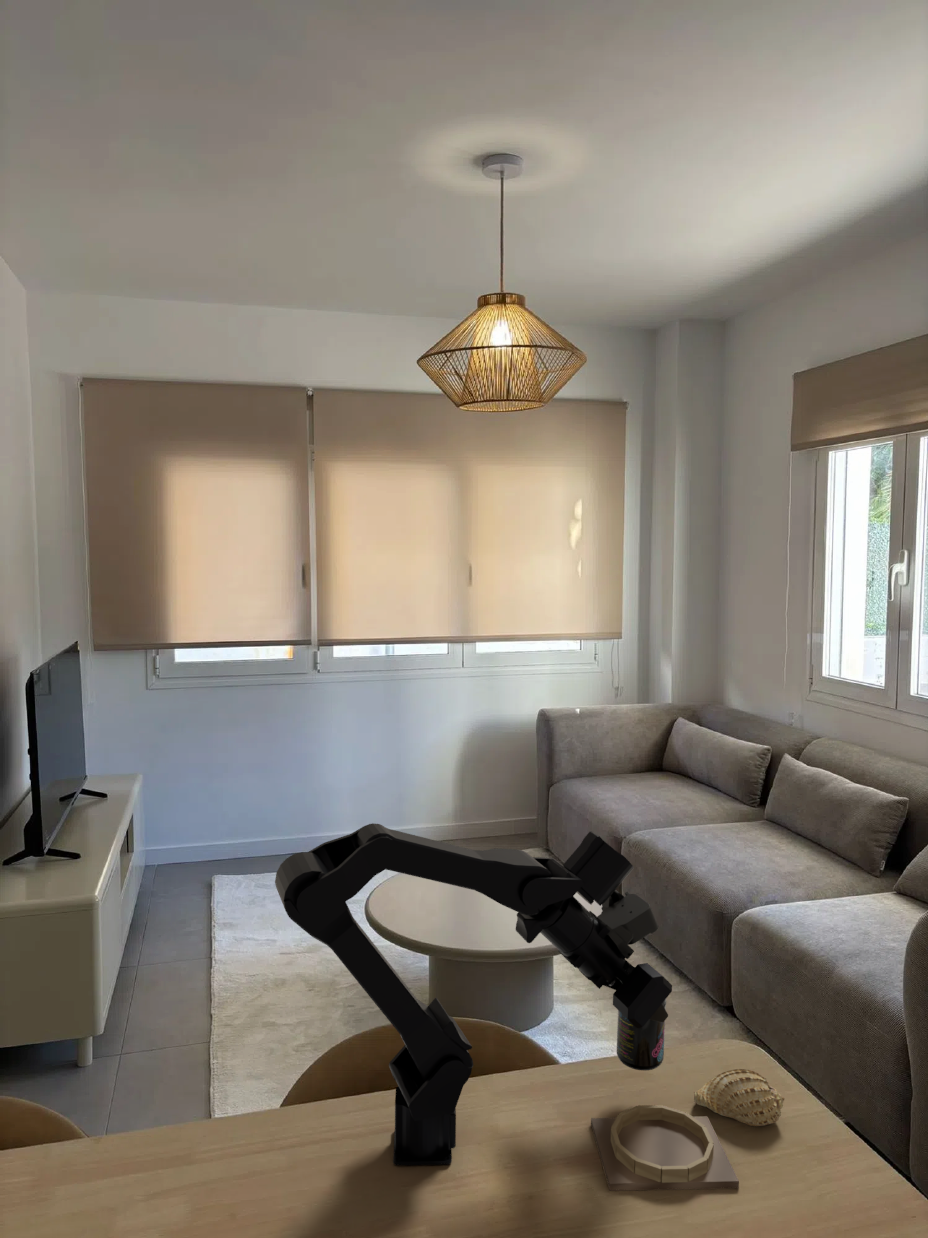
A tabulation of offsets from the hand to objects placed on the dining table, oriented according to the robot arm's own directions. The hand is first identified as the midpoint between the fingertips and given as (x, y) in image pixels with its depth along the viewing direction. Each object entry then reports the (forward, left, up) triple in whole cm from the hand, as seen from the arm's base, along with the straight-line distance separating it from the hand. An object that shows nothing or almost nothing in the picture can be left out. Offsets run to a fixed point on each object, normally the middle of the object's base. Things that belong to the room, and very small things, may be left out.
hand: (651, 1006), depth 113 cm
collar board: (-1, -11, -12) cm, 16 cm away
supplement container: (-1, 0, -7) cm, 7 cm away
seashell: (+10, -4, -12) cm, 16 cm away
